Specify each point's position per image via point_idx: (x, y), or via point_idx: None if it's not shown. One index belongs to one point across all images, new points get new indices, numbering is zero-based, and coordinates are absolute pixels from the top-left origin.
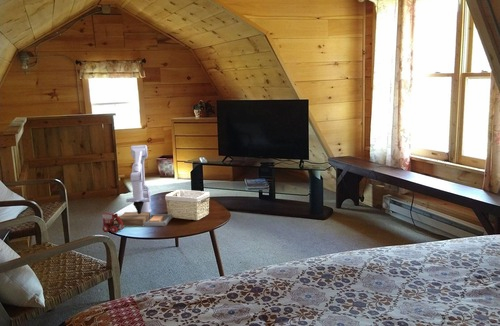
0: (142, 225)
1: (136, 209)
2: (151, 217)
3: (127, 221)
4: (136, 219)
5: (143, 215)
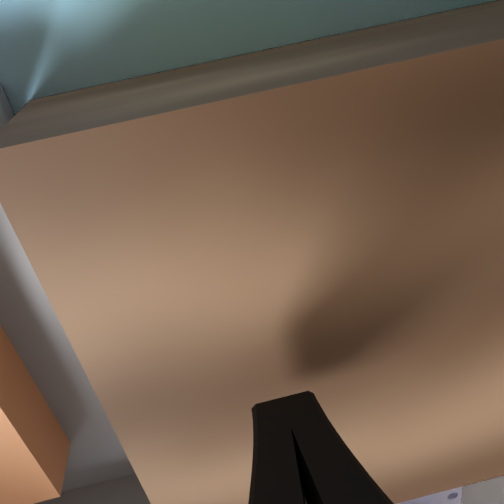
0: (46, 98)
1: (386, 499)
2: None
3: (458, 35)
4: (191, 106)
5: (196, 413)
